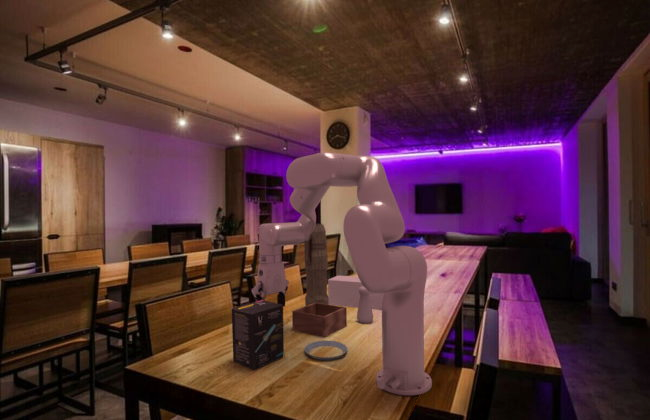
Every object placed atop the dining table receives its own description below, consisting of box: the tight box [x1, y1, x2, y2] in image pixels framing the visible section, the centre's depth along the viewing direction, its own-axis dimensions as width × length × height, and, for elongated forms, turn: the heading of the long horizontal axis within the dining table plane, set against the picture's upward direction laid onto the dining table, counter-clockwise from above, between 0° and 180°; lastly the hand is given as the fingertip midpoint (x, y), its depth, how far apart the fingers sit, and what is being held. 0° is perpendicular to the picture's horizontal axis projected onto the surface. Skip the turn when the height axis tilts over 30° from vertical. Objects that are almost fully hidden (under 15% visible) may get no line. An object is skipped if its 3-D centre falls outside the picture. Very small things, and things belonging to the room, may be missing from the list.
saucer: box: [304, 340, 348, 361], centre depth 100 cm, size 12×12×2 cm
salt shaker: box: [356, 286, 374, 324], centre depth 127 cm, size 6×6×13 cm
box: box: [291, 302, 348, 338], centre depth 121 cm, size 13×13×7 cm
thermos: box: [303, 222, 329, 307], centre depth 139 cm, size 9×12×35 cm
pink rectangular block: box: [327, 275, 384, 311], centre depth 151 cm, size 32×11×11 cm, turn 65°
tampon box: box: [231, 299, 285, 371], centre depth 98 cm, size 11×9×15 cm
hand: (271, 309), depth 123 cm, fingers open, 9 cm apart
